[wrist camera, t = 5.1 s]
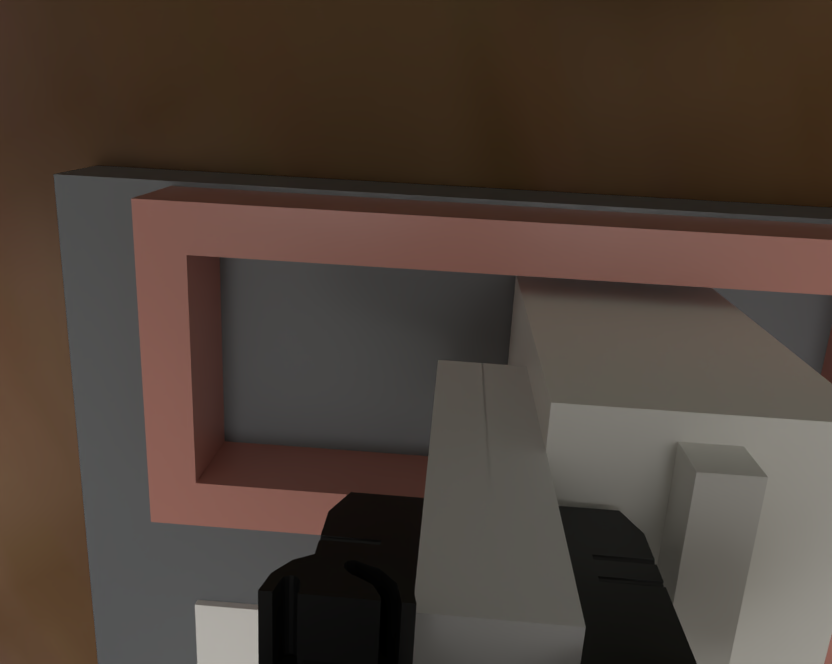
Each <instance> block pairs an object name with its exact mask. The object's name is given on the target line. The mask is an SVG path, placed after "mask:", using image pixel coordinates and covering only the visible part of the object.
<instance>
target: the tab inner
mask: <svg viewBox="0 0 832 664" xmlns="http://www.w3.org/2000/svg"><path fill="white" fill-rule="evenodd" d="M508 365H516V366H527V370H528V375H529V379H530V384H531V388H532V393H533V397H534V402H535V407H536V411H537V416H538V420H539V425H540V429H541V434H542V438H543V443H544V447H545V452H546V453H547V457H548V462H549V466H550V471H551V475H552V480H553V484H554V489H555V493H556V497H557V502H558V506H568V507H581V508H593V509H606V510H618V511H620V512H621V513H622V514H624V515H625V516H626V517H627V518H628V519H629V520H630V521H631V522H632V523H633V524H634V525H635V526H636V527H638V528H639V529H640V530H641V531H642V532H643V533H644V534H645V537H646V539H647V542H648V544H649V547H650V549H651V552H652V554H653V557H654V559H655V565H657V566H658V569H659V571H660V574H661V576H662V579H663V581H664V583H663V585H664V587H666V589H667V591H668V594H669V596H670V599H671V601H672V603H673V606H674V608H675V611H676V613H677V616H678V618H679V621H680V623H681V626H682V628H683V631H684V633H685V636H686V638H687V641H688V643H689V645H690V648H691V650H692V653H693V655H694V658H695V660H696V663H697V664H824V662H825V659H826V655H827V651H828V647H829V643H830V639H831V635H832V383H830V382H829V381H828V380H827V379H825V378H824V377H823V376H822V375H820V374H819V373H818V372H817V371H815V370H814V369H813V368H812V367H810V366H809V365H808V364H807V363H805V362H804V361H803V360H802V359H800V358H799V357H798V356H797V355H795V354H794V353H793V352H792V351H790V350H789V349H788V348H787V347H785V346H784V345H783V344H782V343H780V342H779V341H778V340H777V339H775V338H774V337H773V336H772V335H770V334H769V333H768V332H767V331H765V330H764V329H763V328H762V327H760V326H759V325H758V324H757V323H755V322H754V321H753V320H751V319H750V318H749V317H748V316H746V315H745V314H744V313H743V312H741V311H740V310H739V309H738V308H736V307H735V306H734V305H733V304H731V303H730V302H729V301H728V300H726V299H725V298H724V297H723V296H721V295H720V294H719V293H718V292H716V291H715V290H714V289H713V288H707V287H691V286H675V285H659V284H643V283H627V282H611V281H595V280H579V279H563V278H547V277H531V276H516V279H515V290H514V301H513V313H512V324H511V335H510V346H509V357H508Z"/></svg>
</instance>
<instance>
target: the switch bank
mask: <svg viewBox="0 0 832 664" xmlns="http://www.w3.org/2000/svg"><path fill="white" fill-rule="evenodd" d="M54 184H55V195H56V206H57V217H58V228H59V239H60V250H61V261H62V272H63V283H64V294H65V305H66V316H67V327H68V338H69V349H70V360H71V371H72V382H73V393H74V404H75V415H76V426H77V437H78V448H79V459H80V470H81V481H82V492H83V504H84V515H85V526H86V537H87V548H88V559H89V570H90V581H91V592H92V603H93V614H94V625H95V636H96V647H97V658H98V664H259V663H258V590H259V588H260V587H261V586H262V584H263V583H264V582H265V580H266V579H267V578H268V576H269V575H270V574H271V573H272V572H273V571H275V570H277V569H278V568H280V567H282V566H283V565H285V564H286V563H288V562H290V561H291V560H293V559H297V558H301V557H305V556H308V555H312V554H315V551H316V548H317V545H318V542H319V540H320V538H321V533H322V530H323V527H324V524H325V520H326V517H327V514H328V511H329V510H330V509H332V508H333V507H334V506H335V505H336V504H337V503H339V502H340V501H341V500H342V499H343V498H344V497H346V496H347V495H348V494H349V493H350V492H357V493H369V494H382V495H395V496H407V497H420V498H424V494H425V484H426V474H427V464H428V455H429V445H430V435H431V425H432V415H433V405H434V395H435V386H436V376H437V366H438V360H447V361H461V362H475V363H488V364H502V365H508V357H509V346H510V335H511V324H512V313H513V301H514V290H515V279H516V276H531V277H547V278H563V279H579V280H595V281H611V282H627V283H643V284H659V285H675V286H691V287H707V288H713V289H714V290H715V291H716V292H718V293H719V294H720V295H721V296H723V297H724V298H725V299H726V300H728V301H729V302H730V303H731V304H733V305H734V306H735V307H736V308H738V309H739V310H740V311H741V312H743V313H744V314H745V315H746V316H748V317H749V318H750V319H751V320H753V321H754V322H755V323H757V324H758V325H759V326H760V327H762V328H763V329H764V330H765V331H767V332H768V333H769V334H770V335H772V336H773V337H774V338H775V339H777V340H778V341H779V342H780V343H782V344H783V345H784V346H785V347H787V348H788V349H789V350H790V351H792V352H793V353H794V354H795V355H797V356H798V357H799V358H800V359H802V360H803V361H804V362H805V363H807V364H808V365H809V366H810V367H812V368H813V369H814V370H815V371H817V372H818V373H819V374H820V375H822V376H823V377H824V378H825V379H827V380H828V381H829V382H830V383H832V208H828V207H810V206H793V205H775V204H758V203H740V202H723V201H706V200H688V199H671V198H653V197H636V196H619V195H601V194H584V193H566V192H549V191H532V190H514V189H497V188H479V187H462V186H445V185H427V184H410V183H392V182H375V181H357V180H340V179H323V178H305V177H288V176H270V175H253V174H236V173H218V172H201V171H183V170H166V169H149V168H131V167H114V166H92V167H87V168H82V169H77V170H72V171H67V172H62V173H57V174H54ZM824 664H832V635H831V639H830V643H829V647H828V651H827V655H826V659H825V662H824Z"/></svg>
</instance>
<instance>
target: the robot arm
mask: <svg viewBox="0 0 832 664" xmlns="http://www.w3.org/2000/svg"><path fill="white" fill-rule="evenodd" d="M663 583H664V581H663V579H662V576H661V574H660V571H659V569H658V566H657V565H655V559H654V557H653V554H652V552H651V549H650V547H649V544H648V542H647V539H646V537H645V534H644V533H643V532H642V531H641V530H640V529H639V528H638V527H636V526H635V525H634V524H633V523H632V522H631V521H630V520H629V519H628V518H627V517H626V516H625V515H624V514H622V513H621V512H620V511H618V510H606V509H593V508H581V507H568V506H558V502H557V497H556V493H555V489H554V484H553V480H552V475H551V471H550V466H549V462H548V457H547V453H546V452H545V447H544V443H543V438H542V434H541V429H540V425H539V420H538V416H537V411H536V407H535V402H534V397H533V393H532V388H531V384H530V379H529V375H528V370H527V366H516V365H502V364H488V363H475V362H461V361H447V360H438V366H437V376H436V386H435V395H434V405H433V415H432V425H431V435H430V445H429V455H428V464H427V474H426V484H425V494H424V498H420V497H407V496H395V495H382V494H369V493H357V492H350V493H349V494H348V495H347V496H346V497H344V498H343V499H342V500H341V501H340V502H339V503H337V504H336V505H335V506H334V507H333V508H332V509H330V510H329V511H328V514H327V517H326V520H325V524H324V527H323V530H322V533H321V538H320V540H319V542H318V545H317V548H316V551H315V554H312V555H308V556H305V557H301V558H297V559H293V560H291V561H290V562H288V563H286V564H285V565H283V566H282V567H280V568H278V569H277V570H275V571H273V572H272V573H271V574H270V575H269V576H268V578H267V579H266V580H265V582H264V583H263V584H262V586H261V587H260V588H259V590H258V663H259V664H697V663H696V660H695V658H694V655H693V653H692V650H691V648H690V645H689V643H688V641H687V638H686V636H685V633H684V631H683V628H682V626H681V623H680V621H679V618H678V616H677V613H676V611H675V608H674V606H673V603H672V601H671V599H670V596H669V594H668V591H667V589H666V587H664V585H663Z"/></svg>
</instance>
